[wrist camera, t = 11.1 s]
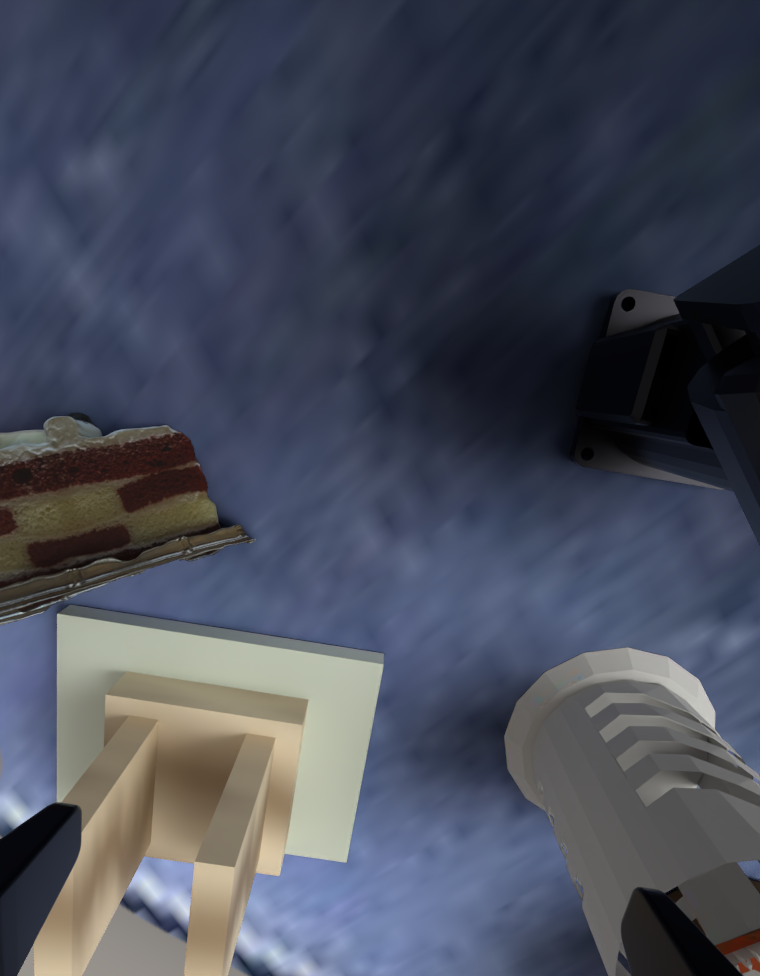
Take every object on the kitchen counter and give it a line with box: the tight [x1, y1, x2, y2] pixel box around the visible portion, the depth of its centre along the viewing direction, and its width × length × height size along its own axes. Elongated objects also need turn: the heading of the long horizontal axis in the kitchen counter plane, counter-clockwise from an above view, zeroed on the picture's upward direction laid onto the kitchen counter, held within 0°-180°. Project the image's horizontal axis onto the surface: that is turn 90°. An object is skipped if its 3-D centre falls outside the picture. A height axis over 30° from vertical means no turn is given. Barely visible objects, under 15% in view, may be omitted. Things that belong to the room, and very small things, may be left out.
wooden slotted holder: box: [34, 671, 309, 976], centre depth 17 cm, size 8×8×6 cm
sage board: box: [57, 605, 384, 863], centre depth 20 cm, size 14×11×1 cm
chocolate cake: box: [0, 413, 256, 625], centre depth 17 cm, size 10×7×12 cm
